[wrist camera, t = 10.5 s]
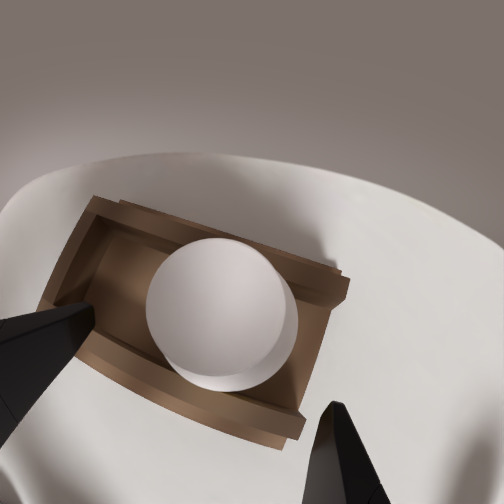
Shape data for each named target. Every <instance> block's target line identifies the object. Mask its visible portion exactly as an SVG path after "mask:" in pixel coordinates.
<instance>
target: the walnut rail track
mask: <svg viewBox="0 0 504 504" xmlns="http://www.w3.org/2000/svg"><path fill="white" fill-rule="evenodd" d="M208 238H225V239H231V240H235V241H239V242H242V243H244V244H247V245H249V246H250V247H252V248H254V249H255V250H257V251H258V252H259V253H261V254H262V255H263V256H264V257H265V258H266V259H267V260H268V261H269V262H270V263H271V264H272V266H273V267H274V269H275V270H276V271H277V272H278V273H279V274H280V275H281V276H282V277H283V279H284V280H285V281H286V283H287V284H288V286H289V288H290V290H291V292H292V294H293V296H294V299H295V302H296V306H297V312H298V331H297V336H296V341H295V344H294V346H293V349H292V351H291V353H290V355H289V357H288V359H287V360H286V362H285V363H284V364H283V365H282V367H281V368H280V369H279V370H278V371H277V372H276V373H275V374H274V375H273V376H271V377H270V378H269V379H267V380H266V381H264V382H262V383H260V384H258V385H256V386H254V387H251V388H248V389H245V390H240V391H231V392H222V391H213V390H209V389H205V388H202V387H199V386H197V385H195V384H193V383H191V382H189V381H188V380H186V379H185V378H184V377H182V376H181V375H180V374H179V373H178V372H177V371H176V370H175V369H174V368H173V367H172V366H171V365H170V364H169V362H168V361H167V359H166V358H165V356H164V354H163V353H162V352H161V350H160V349H159V348H158V346H157V345H156V343H155V341H154V339H153V337H152V336H151V333H150V330H149V327H148V324H147V319H146V299H147V293H148V289H149V286H150V284H151V281H152V279H153V277H154V275H155V273H156V271H157V270H158V268H159V267H160V266H161V264H162V263H163V262H164V261H165V260H166V259H167V258H168V257H169V256H170V255H171V254H172V253H174V252H175V251H177V250H178V249H180V248H181V247H183V246H185V245H187V244H189V243H192V242H195V241H198V240H203V239H208ZM341 273H342V271H341V270H338V269H335V268H332V267H329V266H326V265H323V264H320V263H317V262H314V261H311V260H308V259H305V258H302V257H299V256H296V255H293V254H290V253H287V252H284V251H281V250H278V249H275V248H272V247H269V246H266V245H262V244H259V243H256V242H253V241H250V240H247V239H244V238H241V237H238V236H235V235H231V234H228V233H225V232H222V231H219V230H216V229H213V228H210V227H207V226H203V225H200V224H197V223H194V222H191V221H188V220H184V219H181V218H178V217H175V216H172V215H169V214H165V213H162V212H159V211H156V210H153V209H150V208H146V207H143V206H140V205H137V204H133V203H130V202H127V201H124V200H120V201H119V203H117V202H114V201H110V200H107V199H104V198H101V197H98V196H95V195H93V197H92V199H91V200H90V202H89V204H88V205H87V207H86V209H85V210H84V212H83V214H82V216H81V217H80V219H79V221H78V223H77V225H76V226H75V228H74V230H73V232H72V234H71V236H70V237H69V239H68V241H67V243H66V245H65V247H64V249H63V251H62V253H61V255H60V257H59V259H58V261H57V263H56V265H55V268H54V270H53V272H52V274H51V276H50V279H49V281H48V283H47V285H46V288H45V290H44V292H43V295H42V297H41V300H40V302H39V305H38V307H37V310H36V312H39V311H43V310H48V309H53V308H57V307H62V306H66V305H71V304H75V303H80V302H88V303H89V304H91V305H93V306H94V309H95V320H96V324H95V327H94V329H93V330H92V331H91V333H90V334H89V336H88V337H87V338H86V340H85V341H84V343H83V344H82V346H81V347H80V348H79V350H78V351H77V353H76V354H75V355H74V356H75V357H76V358H78V359H79V360H81V361H82V362H84V363H85V364H87V365H88V366H90V367H92V368H93V369H95V370H96V371H98V372H100V373H101V374H103V375H105V376H106V377H108V378H110V379H111V380H113V381H115V382H116V383H118V384H120V385H122V386H123V387H125V388H127V389H129V390H131V391H133V392H134V393H136V394H138V395H140V396H142V397H144V398H146V399H148V400H150V401H152V402H154V403H156V404H158V405H160V406H162V407H164V408H166V409H168V410H171V411H173V412H175V413H177V414H179V415H182V416H184V417H186V418H189V419H191V420H193V421H196V422H198V423H201V424H203V425H206V426H208V427H211V428H213V429H216V430H219V431H221V432H224V433H227V434H230V435H232V436H235V437H238V438H241V439H244V440H247V441H250V442H254V443H257V444H260V445H263V446H267V447H270V448H274V449H278V450H281V451H282V449H283V447H284V444H285V442H286V439H287V438H290V439H294V440H298V439H299V437H300V434H301V432H302V430H303V427H304V424H305V422H306V418H305V417H304V416H303V415H302V414H301V413H300V412H299V411H298V409H299V407H300V404H301V401H302V399H303V396H304V393H305V391H306V388H307V385H308V382H309V379H310V376H311V374H312V371H313V368H314V365H315V362H316V359H317V356H318V353H319V349H320V346H321V343H322V340H323V337H324V334H325V330H326V327H327V324H328V320H329V317H330V313H331V310H333V309H334V308H335V307H336V306H338V305H339V304H340V303H341V302H343V301H344V300H345V298H346V294H347V290H348V286H349V282H350V278H347V277H344V276H341Z"/></svg>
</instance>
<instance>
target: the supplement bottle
mask: <svg viewBox="0 0 504 504" xmlns="http://www.w3.org/2000/svg"><path fill="white" fill-rule="evenodd" d="M146 319H147V324H148V327H149V330H150V333H151V336H152V337H153V339H154V341H155V343H156V345H157V346H158V348H159V349H160V350H161V352H162V353H163V354H164V356H165V358H166V359H167V361H168V362H169V364H170V365H171V366H172V367H173V368H174V369H175V370H176V371H177V372H178V373H179V374H180V375H181V376H182V377H184V378H185V379H186V380H188V381H189V382H191V383H193V384H195V385H197V386H199V387H202V388H205V389H209V390H213V391H222V392H231V391H240V390H245V389H248V388H251V387H254V386H256V385H258V384H260V383H262V382H264V381H266V380H267V379H269V378H270V377H271V376H273V375H274V374H275V373H276V372H277V371H278V370H279V369H280V368H281V367H282V365H283V364H284V363H285V362H286V360H287V359H288V357H289V355H290V353H291V351H292V349H293V346H294V344H295V341H296V336H297V331H298V312H297V306H296V302H295V299H294V296H293V294H292V292H291V290H290V288H289V286H288V284H287V283H286V281H285V280H284V279H283V277H282V276H281V275H280V274H279V273H278V272H277V271H276V270H275V269H274V267H273V266H272V264H271V263H270V262H269V261H268V260H267V259H266V258H265V257H264V256H263V255H262V254H261V253H259V252H258V251H257V250H255V249H254V248H252V247H250V246H249V245H247V244H244V243H242V242H239V241H235V240H231V239H225V238H208V239H203V240H198V241H195V242H192V243H189V244H187V245H185V246H183V247H181V248H180V249H178V250H177V251H175V252H174V253H172V254H171V255H170V256H169V257H168V258H167V259H166V260H165V261H164V262H163V263H162V264H161V266H160V267H159V268H158V270H157V271H156V273H155V275H154V277H153V279H152V281H151V284H150V286H149V289H148V293H147V299H146Z"/></svg>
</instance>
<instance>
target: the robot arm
mask: <svg viewBox="0 0 504 504" xmlns="http://www.w3.org/2000/svg"><path fill="white" fill-rule="evenodd" d="M95 324H96V320H95V309H94V306H93V305H91V304H89V303H88V302H80V303H75V304H71V305H66V306H62V307H57V308H53V309H48V310H43V311H39V312H34V313H30V314H25V315H20V316H16V317H11V318H8V319H1V320H0V449H1V447H2V446H3V444H4V443H5V442H6V440H7V439H8V438H9V436H10V435H11V433H12V432H13V431H14V429H15V428H16V427H17V426H18V424H19V423H20V421H21V420H22V419H23V417H24V416H25V415H26V414H27V412H28V411H29V410H30V409H31V407H32V406H33V405H34V403H35V402H36V401H37V400H38V398H39V397H40V396H41V395H42V394H43V392H44V391H45V390H46V389H47V387H48V386H49V385H50V384H51V383H52V381H53V380H54V379H55V378H56V377H57V375H58V374H59V373H60V372H61V371H62V370H63V368H64V367H65V366H66V365H67V364H68V363H69V361H70V360H71V359H72V358H73V357H74V355H75V354H76V353H77V351H78V350H79V348H80V347H81V346H82V344H83V343H84V341H85V340H86V338H87V337H88V336H89V334H90V333H91V331H92V330H93V329H94V327H95ZM0 504H2V503H1V502H0ZM302 504H391V503H390V501H389V499H388V497H387V495H386V493H385V490H384V488H383V486H382V484H380V480H379V477H378V475H377V473H376V471H375V469H374V467H373V464H372V462H371V460H370V458H369V456H368V454H367V451H366V449H365V447H364V445H363V443H362V441H361V439H360V436H359V434H358V432H357V430H356V428H355V426H354V424H353V422H352V419H351V417H350V415H349V413H348V411H347V409H346V407H345V405H344V404H343V403H341V402H337V401H332V402H330V404H329V405H328V407H327V408H326V409H325V411H324V412H323V414H322V415H321V417H320V421H319V425H318V429H317V432H316V436H315V440H314V444H313V447H312V451H311V455H310V460H309V465H308V472H307V478H306V484H305V489H304V495H303V500H302Z"/></svg>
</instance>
